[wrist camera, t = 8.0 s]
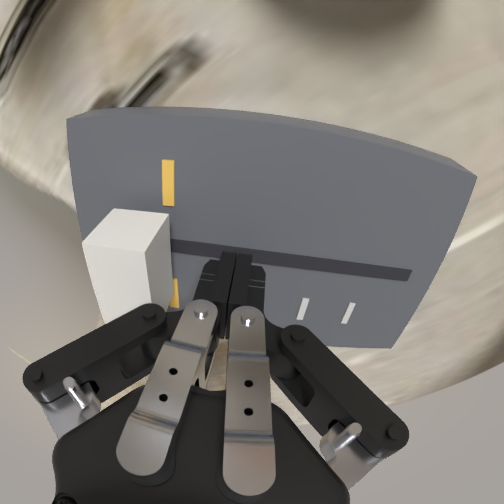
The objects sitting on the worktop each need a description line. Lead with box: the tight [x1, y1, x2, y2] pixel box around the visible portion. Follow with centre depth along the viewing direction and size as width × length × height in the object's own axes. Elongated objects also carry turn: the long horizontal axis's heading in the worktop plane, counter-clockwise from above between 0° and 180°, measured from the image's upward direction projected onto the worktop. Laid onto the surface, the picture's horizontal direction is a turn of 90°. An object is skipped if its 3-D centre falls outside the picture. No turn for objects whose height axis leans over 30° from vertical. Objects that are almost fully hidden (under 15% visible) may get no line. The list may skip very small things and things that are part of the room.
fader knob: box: [82, 208, 174, 324], centre depth 14 cm, size 3×5×4 cm, turn 174°
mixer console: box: [66, 107, 477, 348], centre depth 17 cm, size 22×14×3 cm, turn 84°
